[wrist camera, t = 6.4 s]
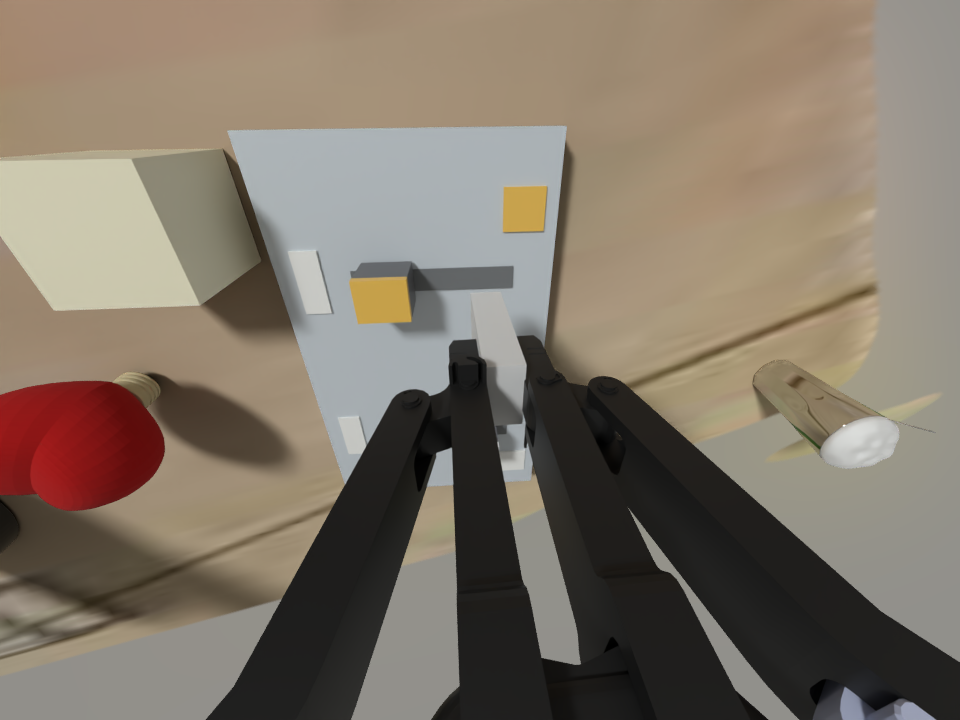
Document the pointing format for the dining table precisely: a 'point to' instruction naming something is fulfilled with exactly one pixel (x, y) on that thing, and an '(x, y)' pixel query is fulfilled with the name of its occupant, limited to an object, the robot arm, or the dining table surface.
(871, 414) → the milkshake
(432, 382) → the panel
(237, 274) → the cap
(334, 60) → the dining table surface
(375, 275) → the breaker
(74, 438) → the light bulb
